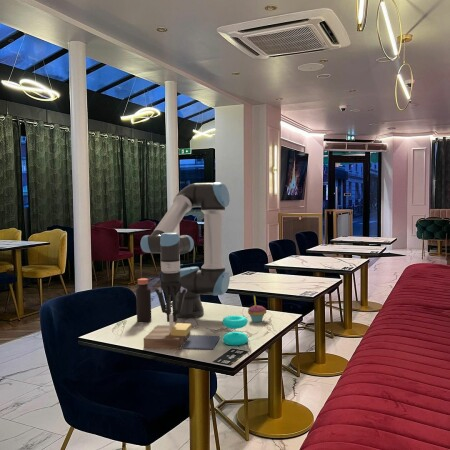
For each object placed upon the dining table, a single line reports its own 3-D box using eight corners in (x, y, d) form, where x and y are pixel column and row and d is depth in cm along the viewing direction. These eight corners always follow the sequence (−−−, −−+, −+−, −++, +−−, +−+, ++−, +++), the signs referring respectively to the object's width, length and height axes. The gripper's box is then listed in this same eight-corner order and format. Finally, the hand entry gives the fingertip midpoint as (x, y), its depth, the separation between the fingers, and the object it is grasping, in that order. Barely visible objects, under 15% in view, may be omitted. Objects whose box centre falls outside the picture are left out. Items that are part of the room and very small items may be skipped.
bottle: (153, 319, 220) (152, 278, 219) (147, 323, 213) (146, 280, 212) (140, 318, 222) (139, 277, 221) (134, 322, 215) (133, 280, 214)
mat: (190, 336, 193) (190, 335, 192) (220, 337, 191) (220, 335, 190) (181, 348, 177) (180, 347, 177) (213, 349, 175) (212, 348, 175)
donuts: (242, 322, 176) (218, 320, 180) (243, 347, 177) (219, 345, 180) (250, 315, 185) (227, 313, 189) (251, 339, 186) (228, 337, 190)
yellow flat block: (177, 328, 189) (177, 323, 189) (191, 329, 188) (191, 323, 188) (170, 335, 181) (170, 329, 180) (185, 336, 180) (185, 330, 179)
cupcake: (244, 320, 215) (243, 295, 214) (258, 317, 220) (257, 292, 219) (256, 324, 208) (255, 298, 207) (270, 321, 213) (269, 295, 212)
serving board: (157, 334, 196) (157, 325, 196) (190, 335, 194) (189, 326, 193) (143, 348, 178) (143, 338, 178) (179, 349, 176) (178, 339, 176)
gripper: (151, 273, 181) (153, 332, 183) (184, 273, 179) (185, 333, 180) (157, 269, 189) (159, 326, 190) (188, 270, 186) (190, 327, 188)
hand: (172, 329), depth 185 cm, fingers closed
